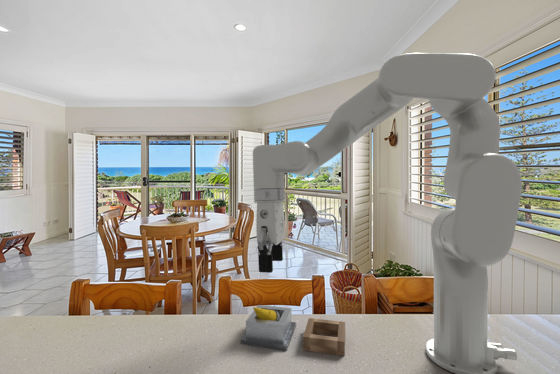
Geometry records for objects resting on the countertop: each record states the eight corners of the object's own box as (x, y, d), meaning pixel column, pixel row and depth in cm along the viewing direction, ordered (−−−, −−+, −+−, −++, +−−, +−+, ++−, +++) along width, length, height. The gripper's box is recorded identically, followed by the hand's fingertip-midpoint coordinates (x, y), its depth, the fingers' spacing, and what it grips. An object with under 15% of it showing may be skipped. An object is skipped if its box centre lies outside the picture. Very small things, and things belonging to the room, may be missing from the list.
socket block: (345, 334, 69) (345, 321, 69) (344, 355, 61) (344, 341, 61) (308, 329, 72) (308, 318, 72) (303, 350, 63) (303, 336, 63)
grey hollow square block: (296, 326, 73) (295, 307, 73) (286, 350, 63) (286, 328, 63) (255, 321, 76) (255, 303, 76) (240, 343, 65) (240, 322, 65)
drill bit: (285, 335, 68) (260, 315, 64) (268, 339, 70) (242, 321, 66) (287, 313, 72) (263, 294, 68) (270, 318, 74) (246, 299, 70)
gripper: (275, 197, 60) (277, 278, 60) (291, 194, 77) (293, 257, 77) (241, 198, 62) (244, 276, 62) (265, 195, 78) (267, 256, 78)
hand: (271, 266), depth 69 cm, fingers open, 9 cm apart
